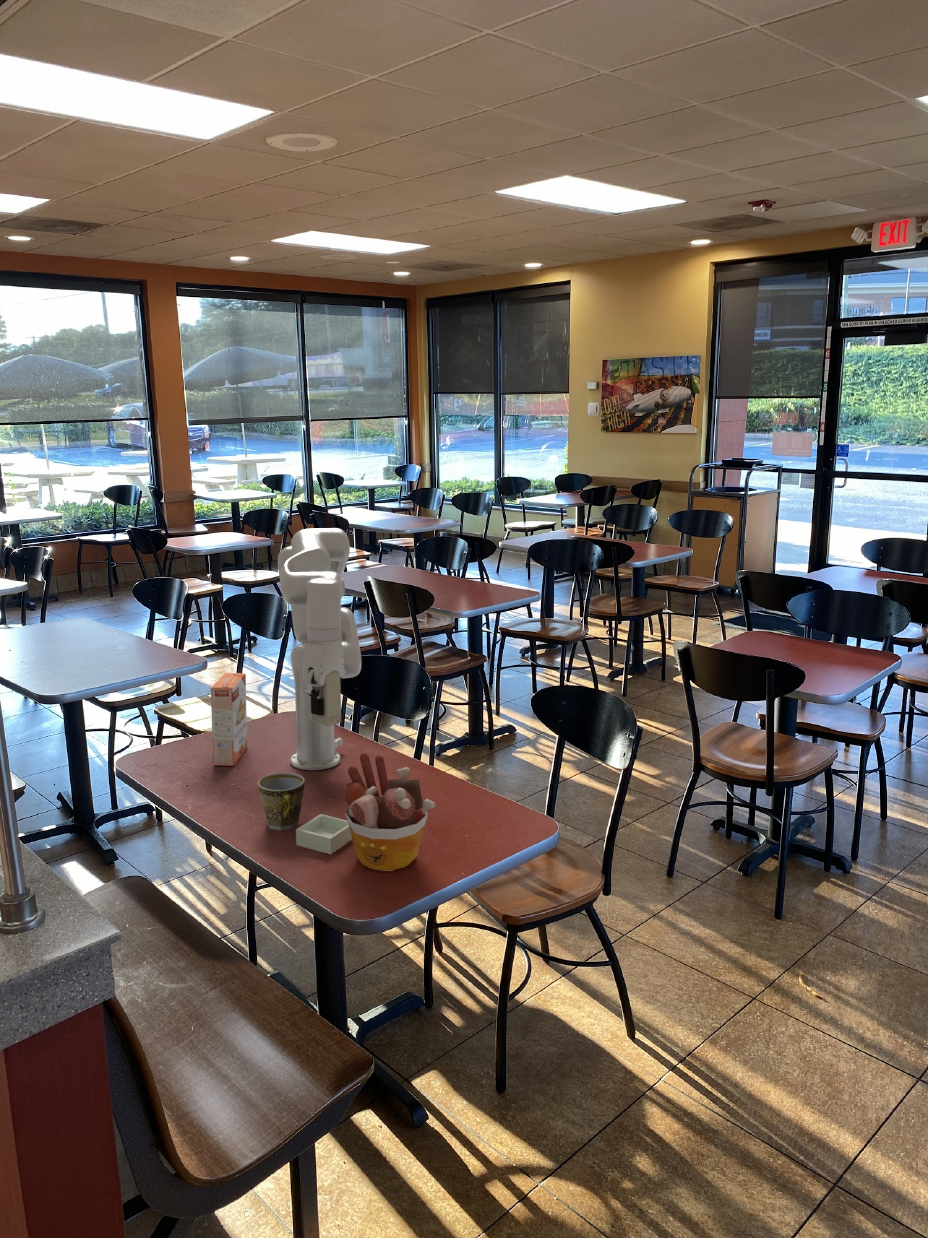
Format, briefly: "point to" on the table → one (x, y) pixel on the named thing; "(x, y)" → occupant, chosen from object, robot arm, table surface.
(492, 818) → the table surface
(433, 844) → the table surface
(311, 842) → the holder
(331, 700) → the skincare box
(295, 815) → the ceramic cup
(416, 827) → the bucket of meat
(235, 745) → the cracker box
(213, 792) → the table surface
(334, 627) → the robot arm
